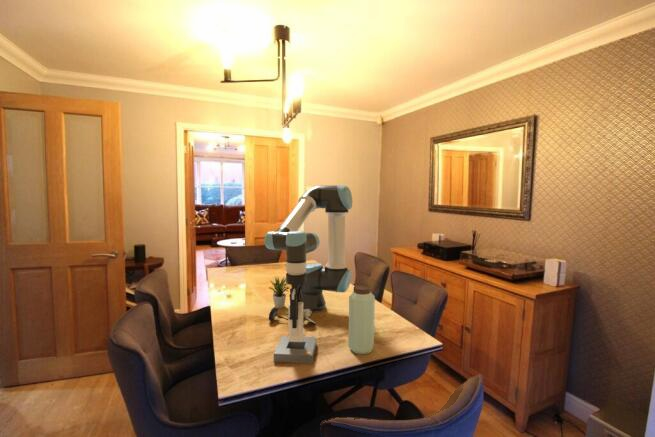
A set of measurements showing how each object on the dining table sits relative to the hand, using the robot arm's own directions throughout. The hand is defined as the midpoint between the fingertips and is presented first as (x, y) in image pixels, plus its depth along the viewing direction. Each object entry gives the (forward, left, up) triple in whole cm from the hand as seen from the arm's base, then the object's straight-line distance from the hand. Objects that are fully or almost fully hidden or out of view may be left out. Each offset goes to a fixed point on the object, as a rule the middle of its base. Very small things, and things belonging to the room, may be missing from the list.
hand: (295, 332), depth 119 cm
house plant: (-46, -17, -8) cm, 50 cm away
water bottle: (-5, +25, -8) cm, 27 cm away
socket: (0, 0, -8) cm, 8 cm away
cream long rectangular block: (0, 0, -3) cm, 3 cm away
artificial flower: (-28, -6, -8) cm, 29 cm away
